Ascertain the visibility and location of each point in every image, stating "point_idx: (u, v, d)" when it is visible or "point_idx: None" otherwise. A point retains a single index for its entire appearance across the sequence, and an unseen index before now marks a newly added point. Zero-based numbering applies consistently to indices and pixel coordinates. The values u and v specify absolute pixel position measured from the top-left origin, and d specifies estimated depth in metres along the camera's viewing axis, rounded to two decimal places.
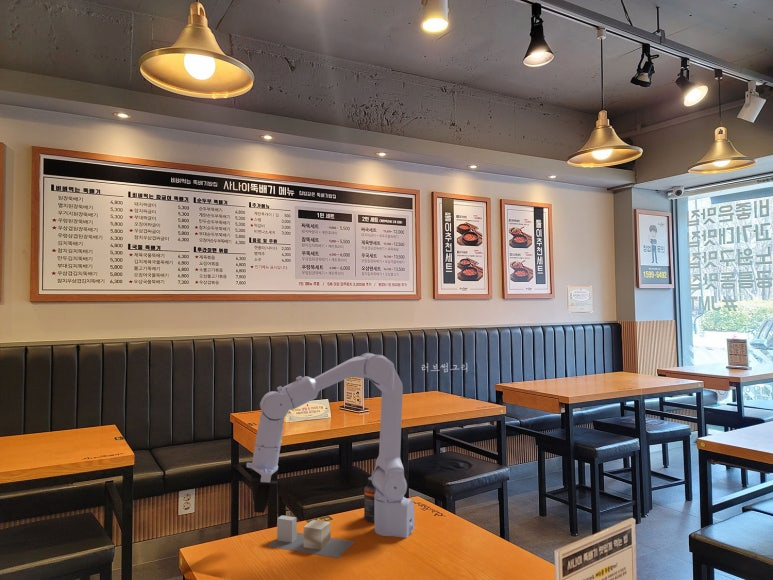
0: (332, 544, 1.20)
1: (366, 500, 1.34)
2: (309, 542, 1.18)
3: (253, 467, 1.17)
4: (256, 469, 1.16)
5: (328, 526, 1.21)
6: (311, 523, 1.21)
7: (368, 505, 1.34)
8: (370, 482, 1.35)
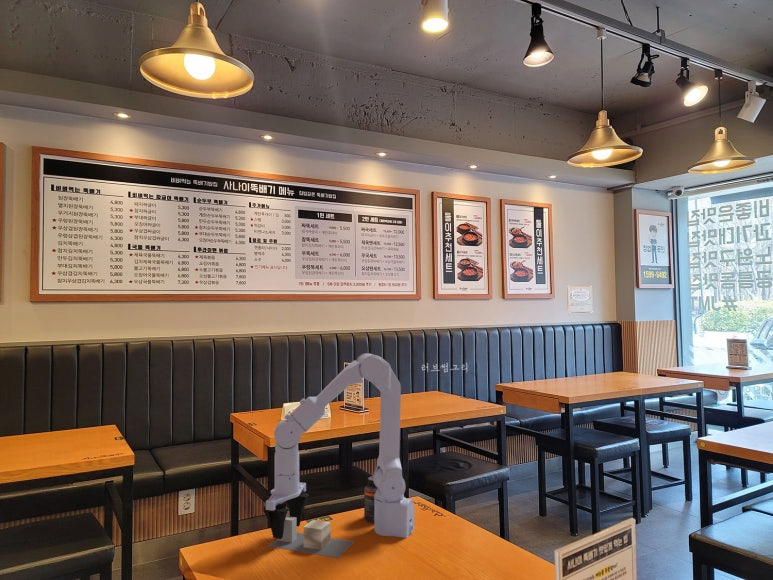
0: (332, 544, 1.20)
1: (366, 500, 1.34)
2: (309, 542, 1.18)
3: None
4: None
5: (328, 526, 1.21)
6: (311, 523, 1.21)
7: (368, 505, 1.34)
8: (370, 482, 1.35)
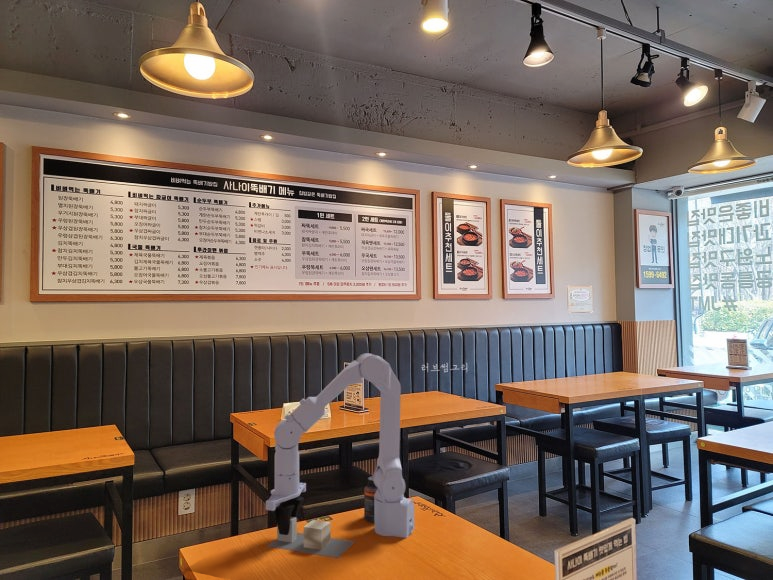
0: (332, 544, 1.20)
1: (366, 500, 1.34)
2: (309, 542, 1.18)
3: None
4: None
5: (328, 526, 1.21)
6: (311, 523, 1.21)
7: (368, 505, 1.34)
8: (370, 482, 1.35)
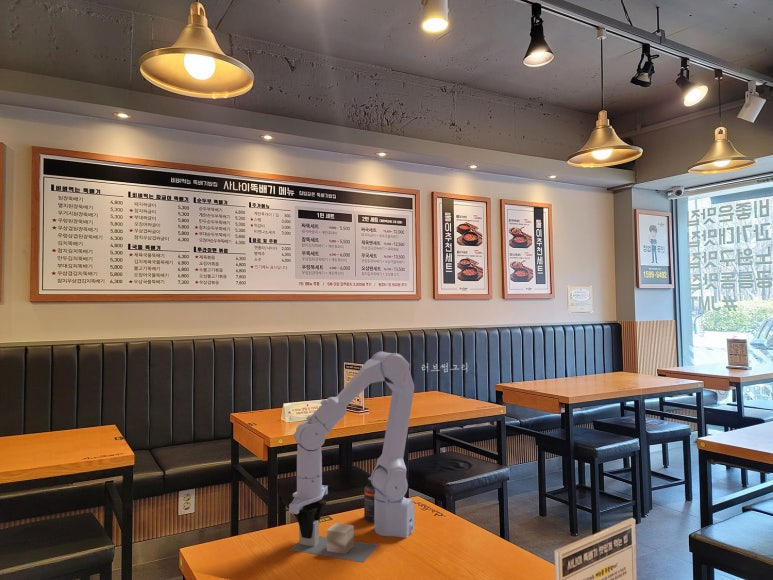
0: (355, 548, 1.18)
1: (366, 500, 1.34)
2: (333, 546, 1.16)
3: None
4: (294, 499, 1.19)
5: (351, 529, 1.18)
6: (334, 526, 1.19)
7: (368, 505, 1.34)
8: (370, 482, 1.35)
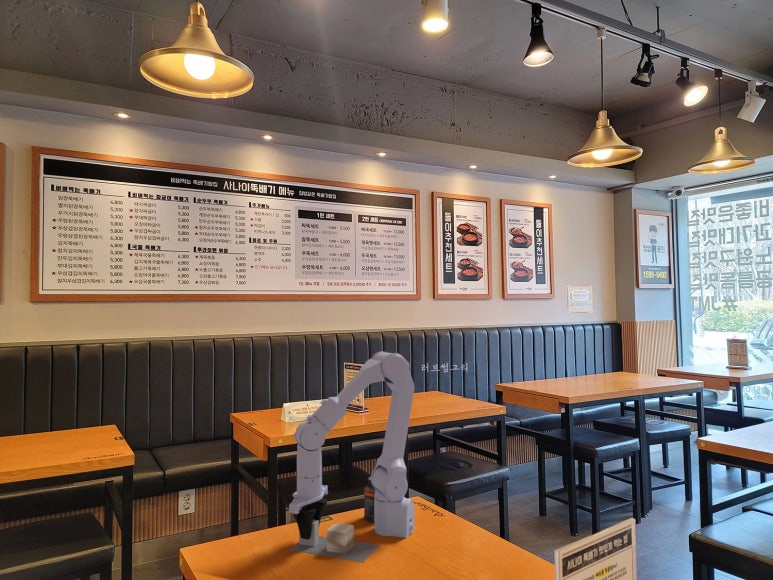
0: (355, 548, 1.18)
1: (366, 500, 1.34)
2: (333, 546, 1.16)
3: None
4: (294, 499, 1.19)
5: (351, 529, 1.18)
6: (334, 526, 1.19)
7: (368, 505, 1.34)
8: (370, 482, 1.35)
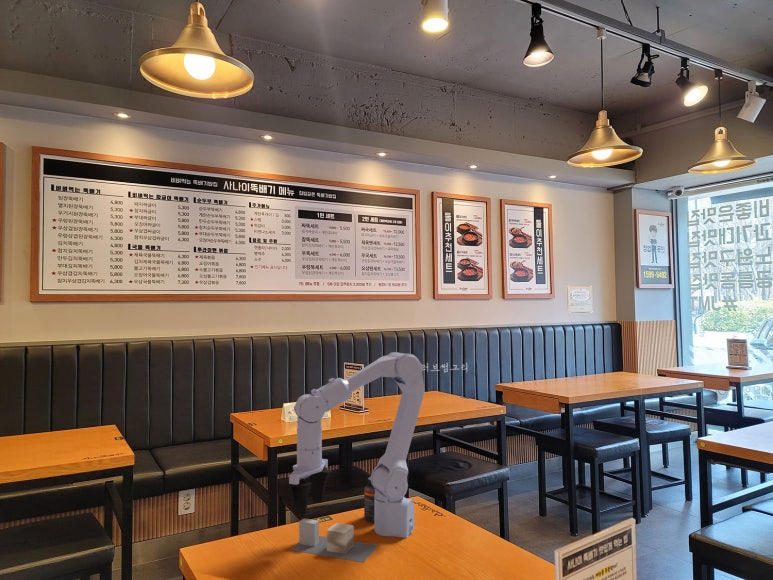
0: (355, 548, 1.18)
1: (366, 500, 1.34)
2: (333, 546, 1.16)
3: None
4: (294, 471, 1.19)
5: (351, 529, 1.18)
6: (334, 526, 1.19)
7: (368, 505, 1.34)
8: (370, 482, 1.35)
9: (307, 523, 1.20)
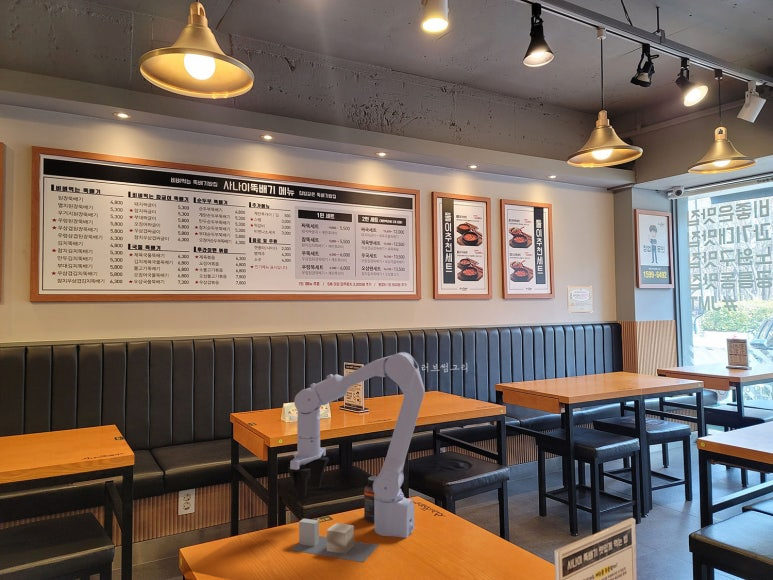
0: (355, 548, 1.18)
1: (366, 500, 1.34)
2: (333, 546, 1.16)
3: None
4: (294, 458, 1.30)
5: (351, 529, 1.18)
6: (334, 526, 1.19)
7: (368, 505, 1.34)
8: (370, 482, 1.35)
9: (307, 523, 1.20)
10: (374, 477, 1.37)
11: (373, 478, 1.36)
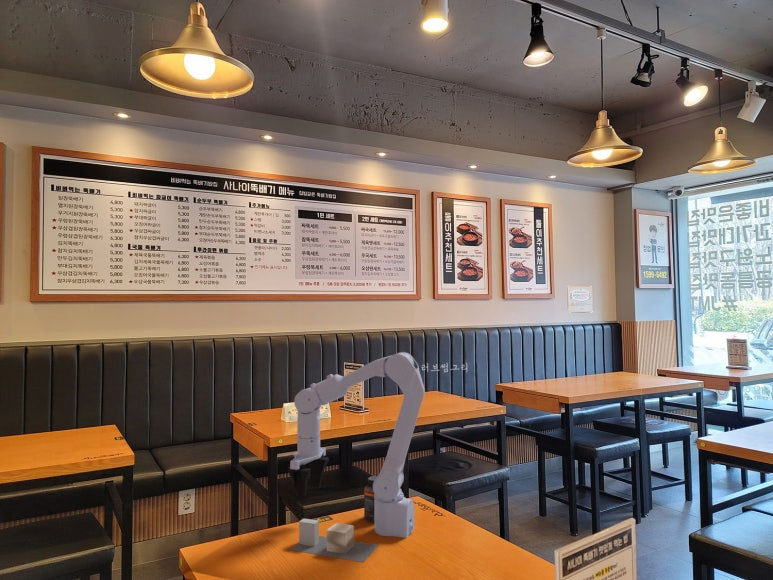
0: (355, 548, 1.18)
1: (366, 500, 1.34)
2: (333, 546, 1.16)
3: None
4: (294, 458, 1.30)
5: (351, 529, 1.18)
6: (334, 526, 1.19)
7: (368, 505, 1.34)
8: (370, 482, 1.35)
9: (307, 523, 1.20)
10: (374, 477, 1.37)
11: (373, 478, 1.36)
